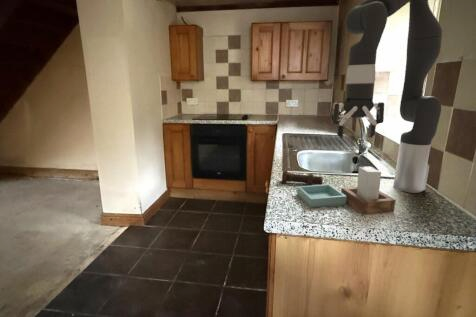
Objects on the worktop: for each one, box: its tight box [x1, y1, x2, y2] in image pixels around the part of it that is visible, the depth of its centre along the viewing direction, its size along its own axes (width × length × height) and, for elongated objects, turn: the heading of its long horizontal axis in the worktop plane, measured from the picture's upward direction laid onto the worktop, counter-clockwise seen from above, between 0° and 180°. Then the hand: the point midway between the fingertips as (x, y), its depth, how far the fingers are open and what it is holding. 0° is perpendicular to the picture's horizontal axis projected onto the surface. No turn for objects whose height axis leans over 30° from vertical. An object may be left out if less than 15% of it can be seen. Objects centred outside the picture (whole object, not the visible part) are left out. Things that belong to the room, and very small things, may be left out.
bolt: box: [281, 169, 324, 186], centre depth 107 cm, size 6×5×15 cm
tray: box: [296, 183, 347, 209], centre depth 93 cm, size 12×11×3 cm
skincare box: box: [356, 166, 382, 200], centre depth 87 cm, size 6×4×12 cm
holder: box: [340, 186, 397, 216], centre depth 88 cm, size 10×12×4 cm
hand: (355, 137), depth 84 cm, fingers open, 8 cm apart
